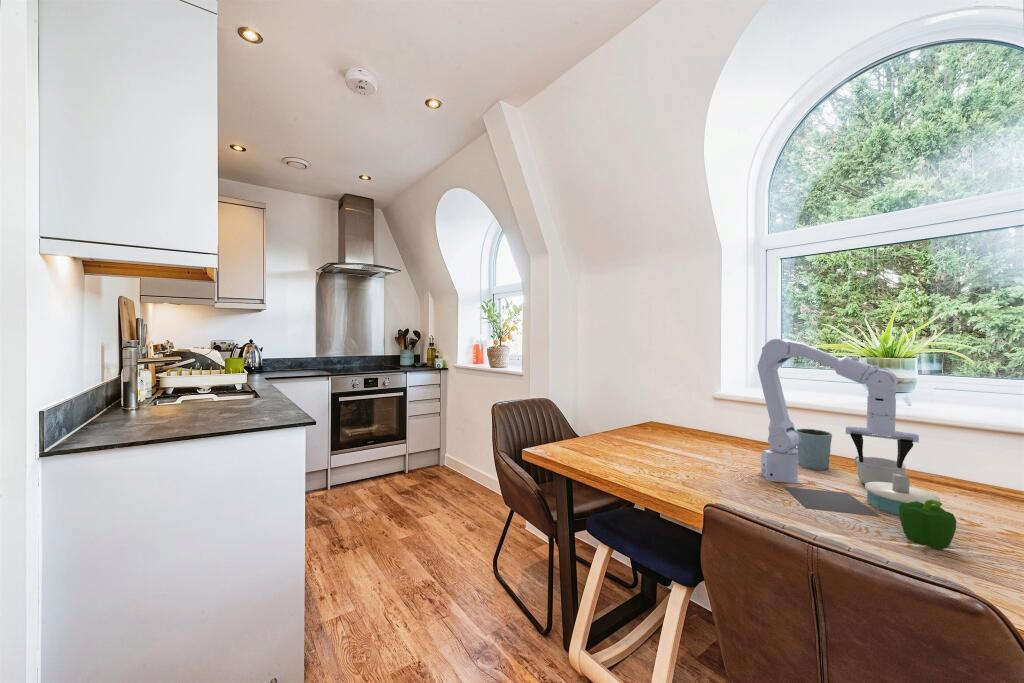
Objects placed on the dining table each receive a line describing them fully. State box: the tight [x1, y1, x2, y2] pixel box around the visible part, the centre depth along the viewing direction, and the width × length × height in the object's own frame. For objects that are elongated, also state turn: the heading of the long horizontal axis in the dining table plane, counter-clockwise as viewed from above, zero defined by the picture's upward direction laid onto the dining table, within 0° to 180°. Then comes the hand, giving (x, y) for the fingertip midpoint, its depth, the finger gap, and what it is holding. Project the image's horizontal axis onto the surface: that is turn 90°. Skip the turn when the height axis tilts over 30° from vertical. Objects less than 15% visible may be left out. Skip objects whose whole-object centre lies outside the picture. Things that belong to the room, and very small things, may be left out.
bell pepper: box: [898, 499, 957, 550], centre depth 87 cm, size 8×8×10 cm
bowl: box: [866, 490, 937, 516], centre depth 105 cm, size 12×12×4 cm
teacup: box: [854, 455, 907, 485], centre depth 122 cm, size 14×11×8 cm
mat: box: [783, 486, 882, 518], centre depth 110 cm, size 16×16×1 cm
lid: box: [864, 474, 941, 505], centre depth 105 cm, size 14×14×5 cm
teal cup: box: [795, 428, 833, 471], centre depth 141 cm, size 10×10×12 cm
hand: (879, 464), depth 110 cm, fingers open, 7 cm apart
